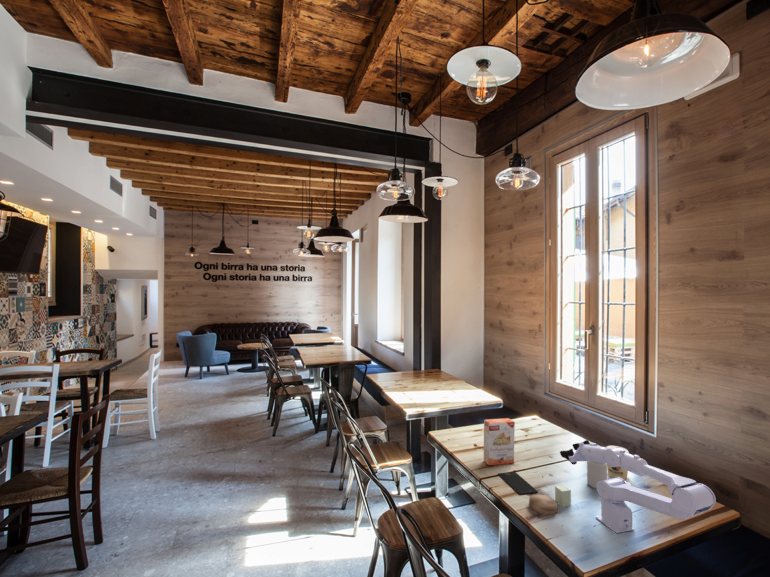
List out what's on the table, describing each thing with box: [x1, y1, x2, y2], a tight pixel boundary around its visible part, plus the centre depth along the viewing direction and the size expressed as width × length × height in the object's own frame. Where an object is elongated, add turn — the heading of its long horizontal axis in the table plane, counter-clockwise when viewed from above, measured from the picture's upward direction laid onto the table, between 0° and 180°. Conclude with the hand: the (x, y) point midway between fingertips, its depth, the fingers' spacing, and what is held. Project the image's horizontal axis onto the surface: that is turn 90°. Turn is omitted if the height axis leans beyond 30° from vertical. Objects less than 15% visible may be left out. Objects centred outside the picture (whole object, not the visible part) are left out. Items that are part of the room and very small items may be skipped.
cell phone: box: [497, 471, 538, 496], centre depth 163 cm, size 9×18×1 cm, turn 12°
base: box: [528, 493, 558, 516], centre depth 144 cm, size 10×10×3 cm
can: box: [586, 461, 608, 490], centre depth 161 cm, size 8×8×12 cm
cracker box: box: [483, 417, 515, 466], centre depth 183 cm, size 14×6×21 cm, turn 102°
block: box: [554, 484, 572, 507], centre depth 147 cm, size 4×4×6 cm
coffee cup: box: [605, 445, 630, 480], centre depth 171 cm, size 9×9×12 cm
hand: (567, 450), depth 154 cm, fingers open, 7 cm apart
